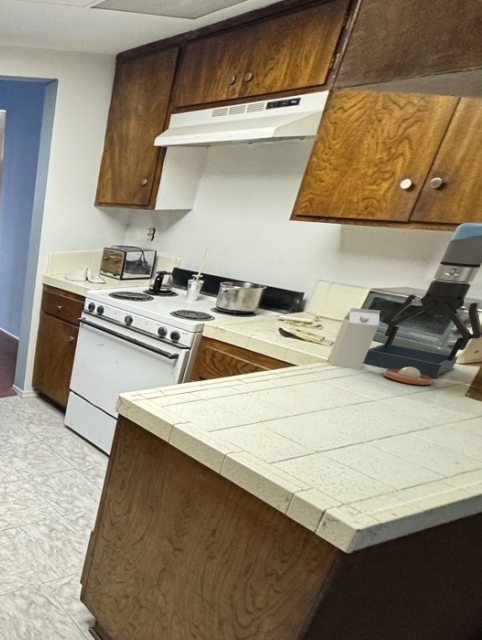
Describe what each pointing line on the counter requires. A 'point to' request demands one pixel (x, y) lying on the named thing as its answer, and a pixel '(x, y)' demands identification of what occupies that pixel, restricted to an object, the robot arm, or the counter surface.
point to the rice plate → (408, 376)
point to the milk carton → (354, 338)
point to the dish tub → (409, 359)
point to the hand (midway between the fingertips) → (417, 353)
